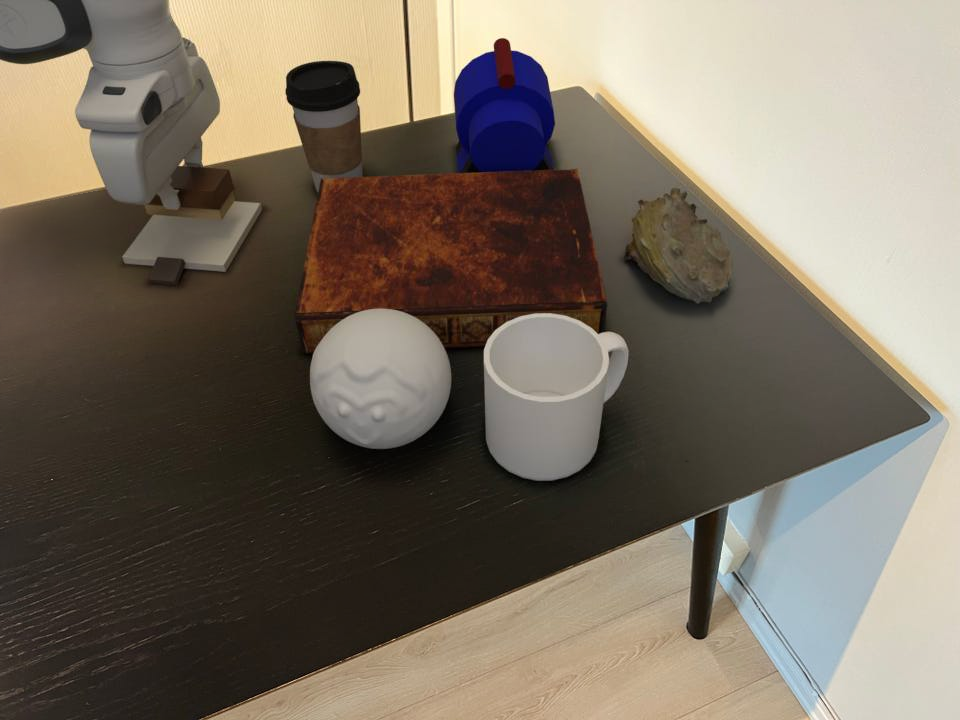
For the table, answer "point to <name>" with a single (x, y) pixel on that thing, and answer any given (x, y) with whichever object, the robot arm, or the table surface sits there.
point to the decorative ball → (380, 378)
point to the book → (451, 253)
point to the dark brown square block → (167, 271)
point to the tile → (194, 238)
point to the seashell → (679, 248)
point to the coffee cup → (327, 117)
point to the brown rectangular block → (198, 193)
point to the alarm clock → (503, 113)
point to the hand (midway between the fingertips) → (185, 191)
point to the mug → (548, 393)
